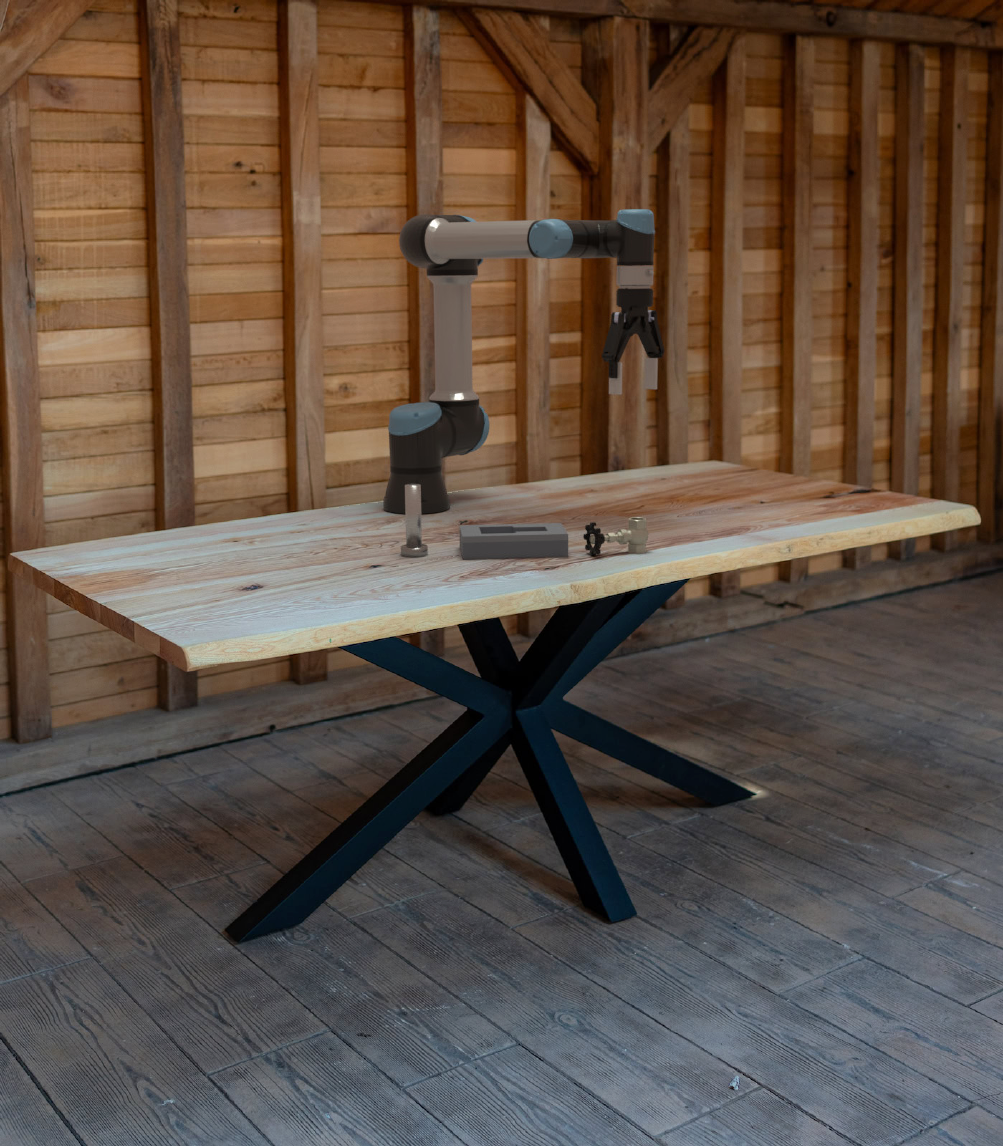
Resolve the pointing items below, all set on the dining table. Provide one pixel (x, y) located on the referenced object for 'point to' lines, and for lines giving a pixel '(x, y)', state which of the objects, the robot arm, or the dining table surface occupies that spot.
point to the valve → (619, 537)
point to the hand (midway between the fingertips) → (633, 391)
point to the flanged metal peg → (413, 523)
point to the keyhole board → (513, 541)
